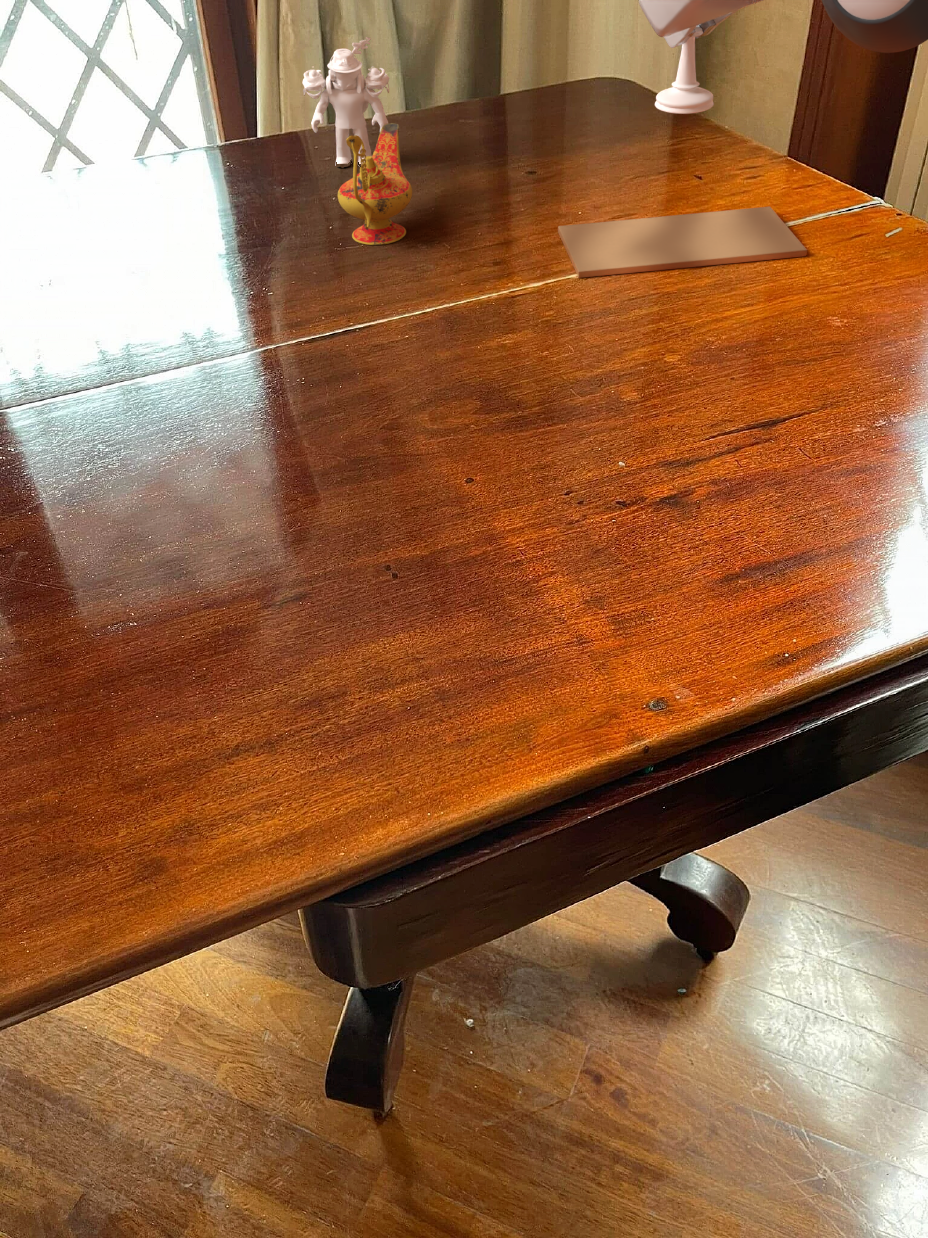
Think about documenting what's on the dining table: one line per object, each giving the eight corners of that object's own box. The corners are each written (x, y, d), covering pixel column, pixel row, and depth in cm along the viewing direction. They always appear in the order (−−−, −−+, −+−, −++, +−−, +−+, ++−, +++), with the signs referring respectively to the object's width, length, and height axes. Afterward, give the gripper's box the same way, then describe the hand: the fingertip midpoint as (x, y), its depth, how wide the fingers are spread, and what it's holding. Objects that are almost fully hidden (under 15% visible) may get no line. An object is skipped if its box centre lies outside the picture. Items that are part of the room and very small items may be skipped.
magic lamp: (432, 191, 110) (424, 73, 103) (401, 267, 97) (390, 138, 90) (365, 191, 111) (353, 74, 104) (326, 266, 98) (308, 139, 90)
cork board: (769, 212, 102) (770, 206, 102) (806, 256, 95) (807, 249, 94) (557, 232, 101) (557, 225, 101) (578, 278, 94) (578, 271, 93)
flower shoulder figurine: (397, 155, 118) (387, 33, 110) (394, 168, 115) (382, 43, 108) (315, 157, 119) (299, 36, 111) (309, 170, 116) (292, 47, 108)
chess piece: (725, 102, 93) (738, -33, 86) (691, 117, 90) (702, -20, 84) (677, 92, 96) (686, -39, 89) (643, 107, 93) (650, -27, 87)
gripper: (746, -30, 73) (623, 99, 85) (900, -82, 83) (772, 39, 95) (697, -114, 72) (581, 28, 84) (858, -157, 83) (734, -25, 95)
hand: (683, 33), depth 90 cm, fingers closed on chess piece
